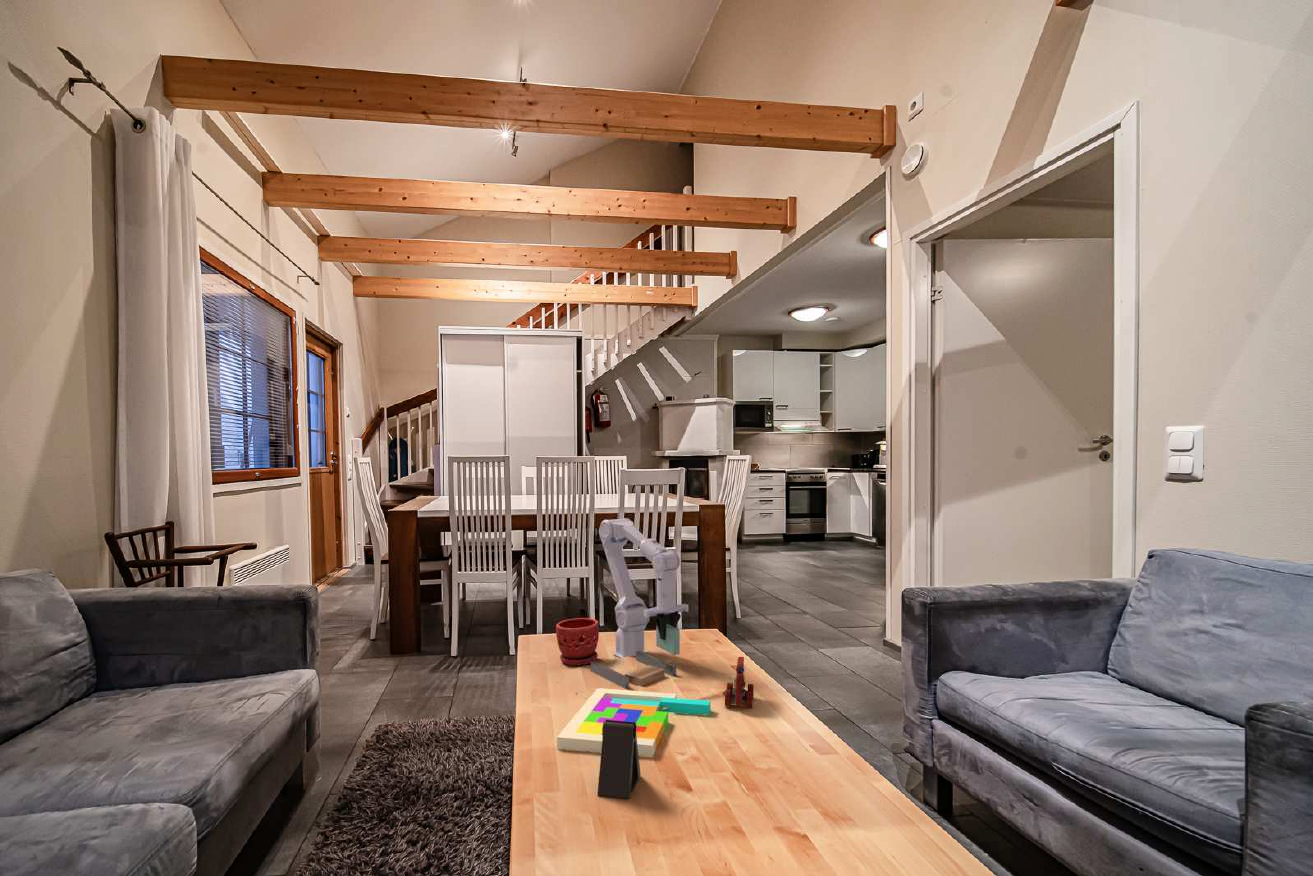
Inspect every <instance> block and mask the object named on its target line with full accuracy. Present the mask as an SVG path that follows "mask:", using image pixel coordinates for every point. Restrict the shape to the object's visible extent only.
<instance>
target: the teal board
mask: <svg viewBox="0 0 1313 876" xmlns="http://www.w3.org/2000/svg"><path fill="white" fill-rule="evenodd" d="M655 625H656V624H655ZM655 629H656V632H655V634H656V640H655V641H656V645H655V646H656V647H657V648H660V649H661V650H663V651H665V652H667V653H669V654H671V655H673V656H676V655H680V647H681V646H680V645H681V644H680V642H681V640H680V638H681V637H680V633H681V632H680V629H679V628H677V627H676V628H675V627H672V626H670V625H668V624H667V625H666V640H662V639H660V634H659V631H658V627H657V625H656V628H655Z"/></svg>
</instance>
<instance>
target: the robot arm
mask: <svg viewBox="0 0 1313 876" xmlns="http://www.w3.org/2000/svg"><path fill="white" fill-rule="evenodd" d="M598 534H599V537H600V541H601V543H602V546H603V549H604V553H605V556H606V561H607V563H608V567H609V570H610V574H611V576H612V580H613V583H614V586H615V589H616V590H615V591H616V593H617V596H618V600H619V601H618V602H617V604H616V605H615V607H614V611H615V622H616V625H617V626H618V629H617V630H616V633H615V652H613V655H614V656H615V657H617V658H619V659H622V658H628V657H636V652H637V651H641V652H643V653H645V629H646V628H647V624H648V623H650V617H652V618H653V620H654V623H655V625H657V627H658V631H659V634H660V639H662V640H666V625H667V624H668V625H670V626H672V627H675V628H677V625H678V623H679V621H680V619H681V614H680V613H682V612H685V613H686V612H687V613H688V612H689V609H690V608H689V604H686V603H681V604H677V575H676V574H677V571H676V570H678V569H679V567H680V563H681V560H680V556H679V555H678V553H677V552H676V551H675V550H667V548H666V546H665V547H664V546H662V545H661V544H660V543H658V542H657V539H656V538H647V537H646V536H644V535H643V534H642V532H641V531H639V530H638V529H637V528H636V527H635V523H634V522H633V521H632V520H630V519H629V518H627V517H626V518H625V517H624V518H617V519H616V518H615V519H604V520H602V521H601V523H600V526H599V529H598ZM628 541H629V542H631V543H632V544H634V545H636V546H637V547H638V548H639V552H640V554H641V555H643V556H644V557H645V559H647V560H648V561H650V562H651V563H652V567H653V570H654V575H655V578H656V606H654V607H651V608H648V607H647V606H646V605H645V602H644V600H643V599H642V598H641V597H639V596H637V594H636V592H635V589H634V587H633V586H634V585H633V583H632V579H631V576H630V573H629V570H628V566H627V563H626V560H625V557H624V554H623V550H622V549H623V548H624V546H625V545H626V544H627V543H628Z"/></svg>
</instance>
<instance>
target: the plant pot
mask: <svg viewBox="0 0 1313 876" xmlns="http://www.w3.org/2000/svg"><path fill="white" fill-rule="evenodd" d="M599 626H600V625H599V621H598V620H597V619H593V618H588V617H579V618H577V617H575V618H571V619H565V620H562V621H559V622H558V623H557V624H556V626H555V630H556V631H555V632H556V635H555V636H556V641H557V646H558V649H559V652H560V653H561V654H560V656H559V659H560V661H561V662H562V664H563V663H564V664H565V665H569V666H575V667H577V666H584V665H588V664H591V662H592V661H595V662H596V660H597V659H598V655H599V652H597V651H596V650H597V647H598V643H599V635H600V634H599V633H600V631H599V630H600V627H599Z"/></svg>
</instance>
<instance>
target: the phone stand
mask: <svg viewBox="0 0 1313 876" xmlns="http://www.w3.org/2000/svg"><path fill="white" fill-rule="evenodd" d="M605 721H606V722H604V723H603V728H602V750H601V753H600V761H599V762H600V763H599V771H598V772H599V773H598V775H599V776H598V785H597V797H598V796H599V797H606V798H614V797H615V798H616V799H623V798H625V799H624V800H630V798H631V796H630V795H632V794H633V792H634V790H635V788H636V786H637V784H638V782H639V780H640V778H641V776H642V775H641V766H640V756H639V755H638V746H637V736H636V729H637V727H636V722H626V721H615V720H605ZM634 787H635V788H634ZM631 793H632V794H631ZM629 797H630V798H629Z"/></svg>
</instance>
